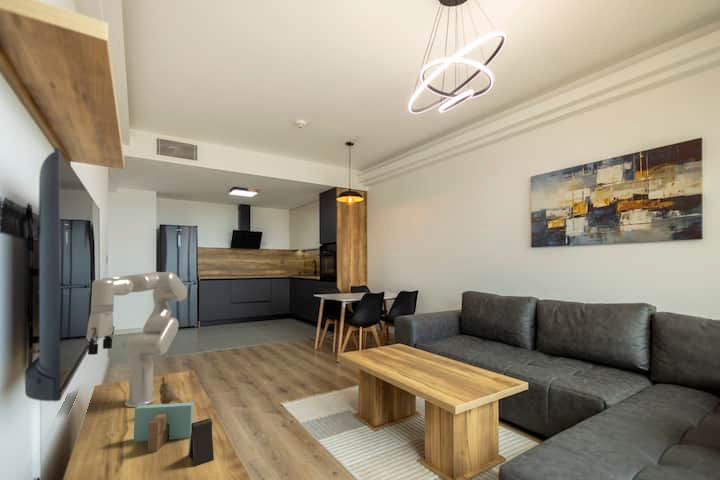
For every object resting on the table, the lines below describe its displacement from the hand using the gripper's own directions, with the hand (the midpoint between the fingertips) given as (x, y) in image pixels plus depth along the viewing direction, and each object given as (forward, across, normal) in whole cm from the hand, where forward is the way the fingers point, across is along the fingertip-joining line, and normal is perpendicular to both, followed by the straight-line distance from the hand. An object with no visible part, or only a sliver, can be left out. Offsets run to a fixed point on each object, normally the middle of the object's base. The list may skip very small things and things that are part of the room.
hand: (100, 351), depth 141 cm
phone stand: (+31, +29, +49) cm, 65 cm away
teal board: (+30, +13, +31) cm, 45 cm away
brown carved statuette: (+31, -10, +25) cm, 41 cm away
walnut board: (+30, +13, +31) cm, 45 cm away
